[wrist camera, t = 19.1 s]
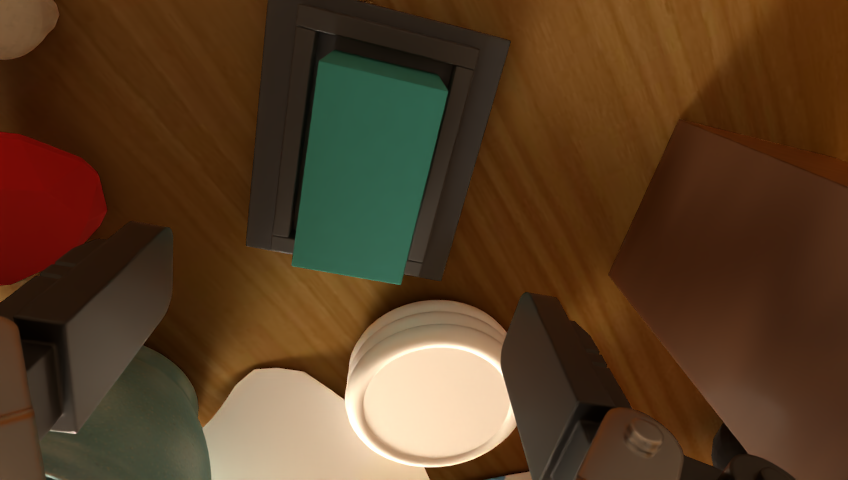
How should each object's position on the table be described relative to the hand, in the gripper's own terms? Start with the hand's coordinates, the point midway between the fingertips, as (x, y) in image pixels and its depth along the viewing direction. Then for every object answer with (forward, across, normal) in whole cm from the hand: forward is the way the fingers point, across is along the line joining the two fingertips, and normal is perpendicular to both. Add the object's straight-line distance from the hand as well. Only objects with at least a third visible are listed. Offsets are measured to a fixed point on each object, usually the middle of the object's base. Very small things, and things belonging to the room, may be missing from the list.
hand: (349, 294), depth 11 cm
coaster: (+14, -6, +13) cm, 20 cm away
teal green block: (+12, 0, 0) cm, 12 cm away
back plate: (+14, 0, 0) cm, 14 cm away
